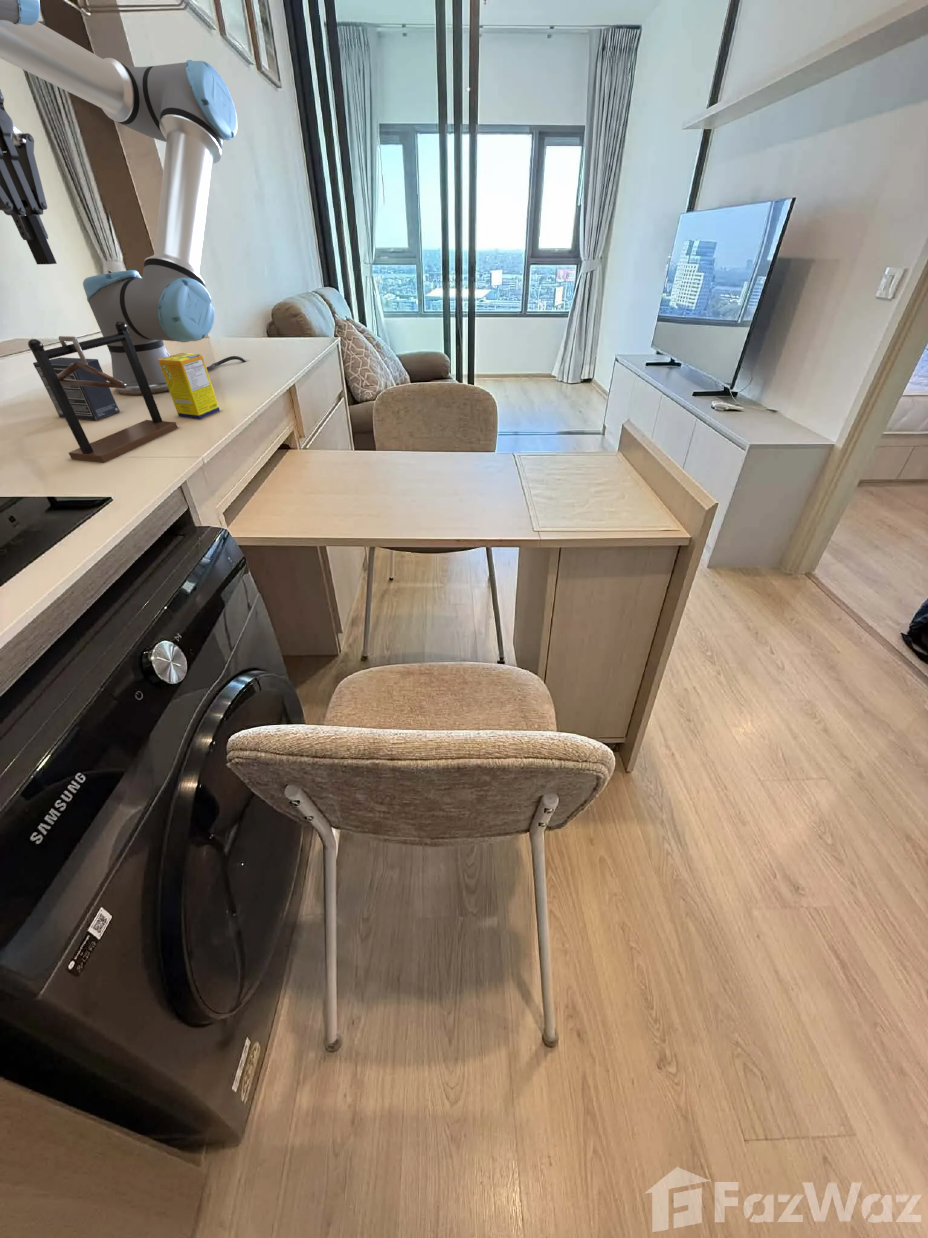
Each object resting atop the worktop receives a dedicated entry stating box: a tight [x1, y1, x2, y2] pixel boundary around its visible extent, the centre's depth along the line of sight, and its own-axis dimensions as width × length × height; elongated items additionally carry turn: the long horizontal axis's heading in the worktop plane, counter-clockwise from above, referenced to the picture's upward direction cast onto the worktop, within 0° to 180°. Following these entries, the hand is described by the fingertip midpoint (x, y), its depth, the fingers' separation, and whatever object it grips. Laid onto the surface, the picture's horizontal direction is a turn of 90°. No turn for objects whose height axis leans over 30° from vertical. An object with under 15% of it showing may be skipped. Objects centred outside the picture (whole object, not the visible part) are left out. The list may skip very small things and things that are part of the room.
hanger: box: [57, 335, 126, 389], centre depth 82 cm, size 1×15×7 cm, turn 74°
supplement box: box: [158, 352, 221, 420], centre depth 102 cm, size 6×6×11 cm
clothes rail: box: [27, 321, 179, 463], centre depth 87 cm, size 18×7×18 cm, turn 164°
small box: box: [32, 356, 121, 421], centre depth 104 cm, size 11×6×10 cm, turn 72°
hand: (46, 263), depth 87 cm, fingers closed
